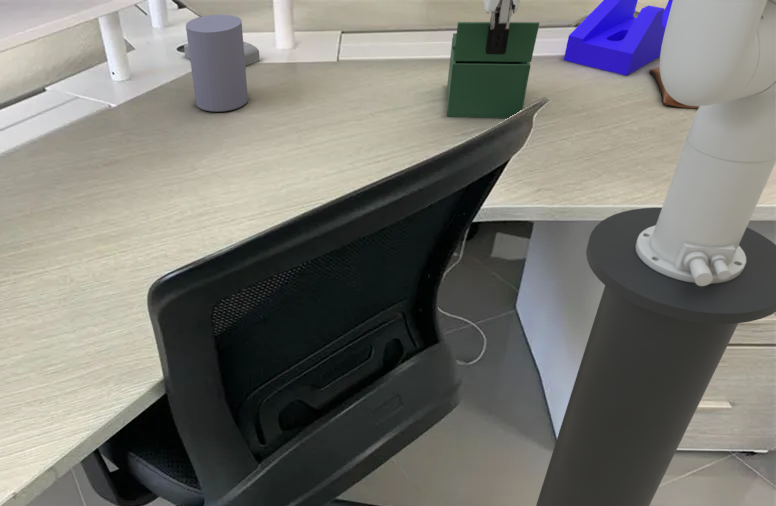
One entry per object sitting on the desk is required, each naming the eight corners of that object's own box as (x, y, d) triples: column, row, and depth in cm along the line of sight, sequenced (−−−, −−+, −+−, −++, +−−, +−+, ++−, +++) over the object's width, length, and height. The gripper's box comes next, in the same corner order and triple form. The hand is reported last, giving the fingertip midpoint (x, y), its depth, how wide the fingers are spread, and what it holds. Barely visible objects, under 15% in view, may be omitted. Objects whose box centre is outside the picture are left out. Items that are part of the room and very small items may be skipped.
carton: (520, 118, 126) (531, 60, 119) (446, 116, 128) (453, 59, 122) (515, 88, 136) (524, 33, 130) (447, 87, 139) (452, 33, 132)
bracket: (614, 34, 156) (627, -17, 150) (675, 47, 148) (692, -6, 142) (563, 60, 146) (574, 6, 139) (626, 75, 138) (641, 19, 131)
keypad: (216, 29, 162) (258, 43, 153) (218, 46, 164) (259, 60, 155) (183, 40, 157) (224, 55, 149) (185, 57, 160) (226, 72, 151)
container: (254, 93, 141) (248, 15, 132) (239, 114, 134) (231, 33, 124) (206, 90, 144) (196, 13, 134) (188, 111, 136) (177, 31, 127)
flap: (530, 60, 120) (531, 62, 119) (453, 59, 122) (453, 61, 122) (539, 22, 114) (539, 23, 114) (457, 22, 116) (457, 23, 116)
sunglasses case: (646, 68, 139) (674, 38, 135) (673, 87, 140) (702, 58, 136) (663, 105, 126) (694, 73, 122) (693, 125, 127) (725, 95, 123)
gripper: (485, -84, 110) (470, 37, 122) (490, -62, 99) (472, 69, 111) (535, -85, 109) (515, 37, 121) (545, -63, 98) (522, 69, 110)
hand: (495, 52), depth 116 cm, fingers closed
